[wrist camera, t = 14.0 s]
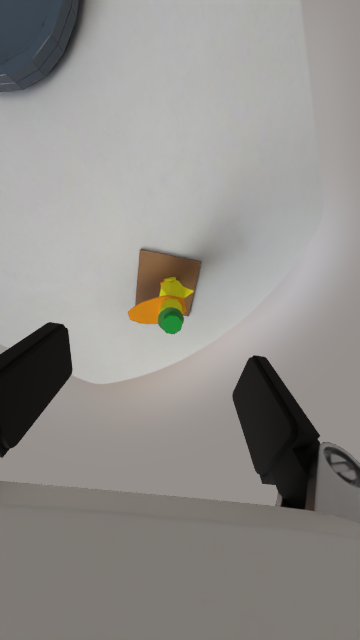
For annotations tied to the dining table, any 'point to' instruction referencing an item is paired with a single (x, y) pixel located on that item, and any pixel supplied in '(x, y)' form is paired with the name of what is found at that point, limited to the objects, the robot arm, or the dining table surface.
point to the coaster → (164, 275)
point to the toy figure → (163, 307)
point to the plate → (32, 39)
